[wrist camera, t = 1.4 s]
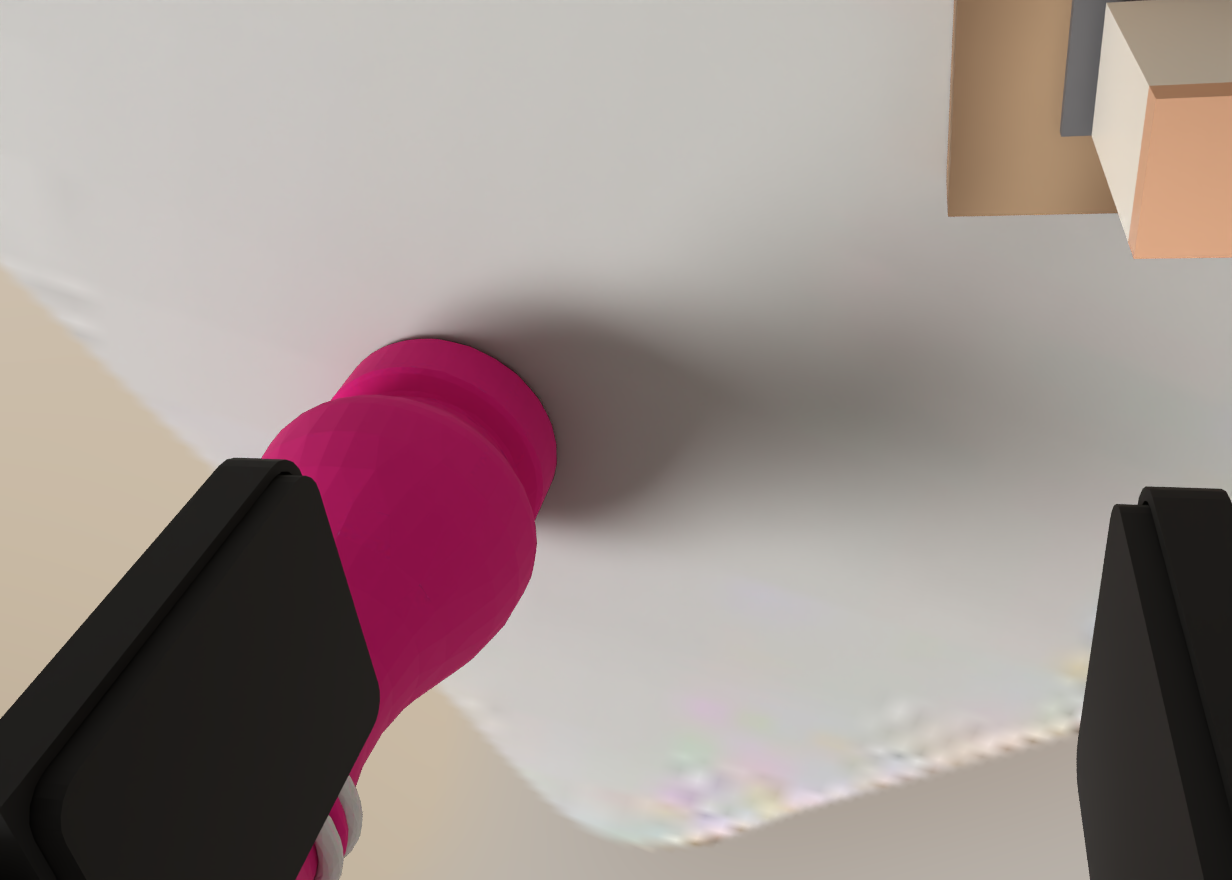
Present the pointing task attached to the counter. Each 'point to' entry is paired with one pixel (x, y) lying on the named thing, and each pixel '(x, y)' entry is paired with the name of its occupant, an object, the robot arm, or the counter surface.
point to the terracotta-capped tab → (1168, 124)
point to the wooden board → (1025, 108)
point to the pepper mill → (423, 521)
